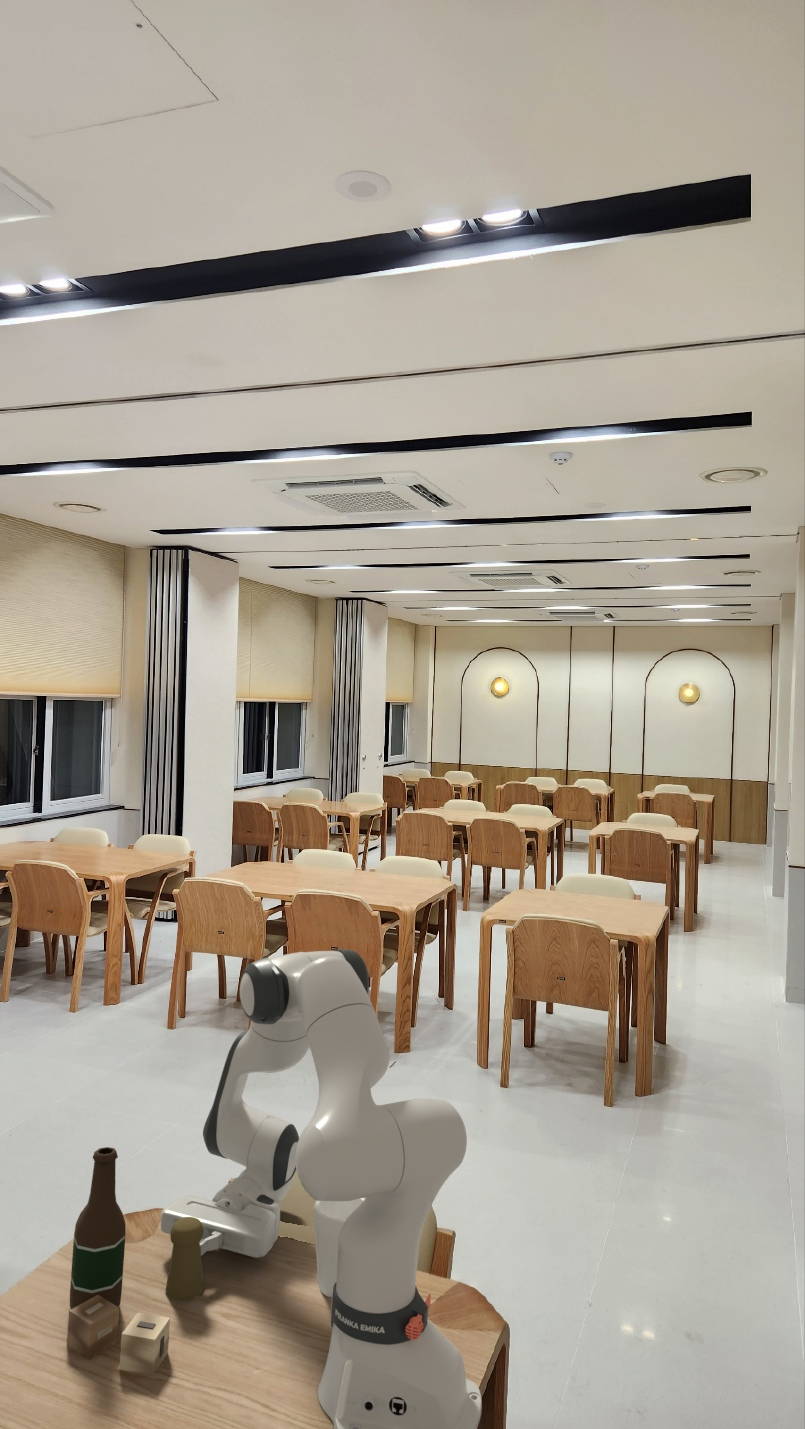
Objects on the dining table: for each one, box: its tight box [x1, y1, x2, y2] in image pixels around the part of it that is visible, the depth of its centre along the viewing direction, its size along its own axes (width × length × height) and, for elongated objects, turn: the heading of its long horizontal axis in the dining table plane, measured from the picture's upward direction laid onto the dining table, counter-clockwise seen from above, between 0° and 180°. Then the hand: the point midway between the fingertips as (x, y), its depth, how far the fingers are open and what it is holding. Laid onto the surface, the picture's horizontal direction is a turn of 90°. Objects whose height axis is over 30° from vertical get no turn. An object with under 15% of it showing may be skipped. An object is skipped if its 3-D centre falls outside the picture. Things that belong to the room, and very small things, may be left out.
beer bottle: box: [69, 1146, 126, 1310], centre depth 141 cm, size 8×8×24 cm
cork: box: [165, 1217, 204, 1302], centre depth 146 cm, size 6×6×11 cm
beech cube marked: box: [118, 1312, 171, 1377], centre depth 129 cm, size 5×5×5 cm
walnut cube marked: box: [66, 1295, 120, 1361], centre depth 132 cm, size 5×5×5 cm
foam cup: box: [312, 1197, 365, 1298], centre depth 149 cm, size 10×9×13 cm
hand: (193, 1248), depth 148 cm, fingers closed, pressing on cork
